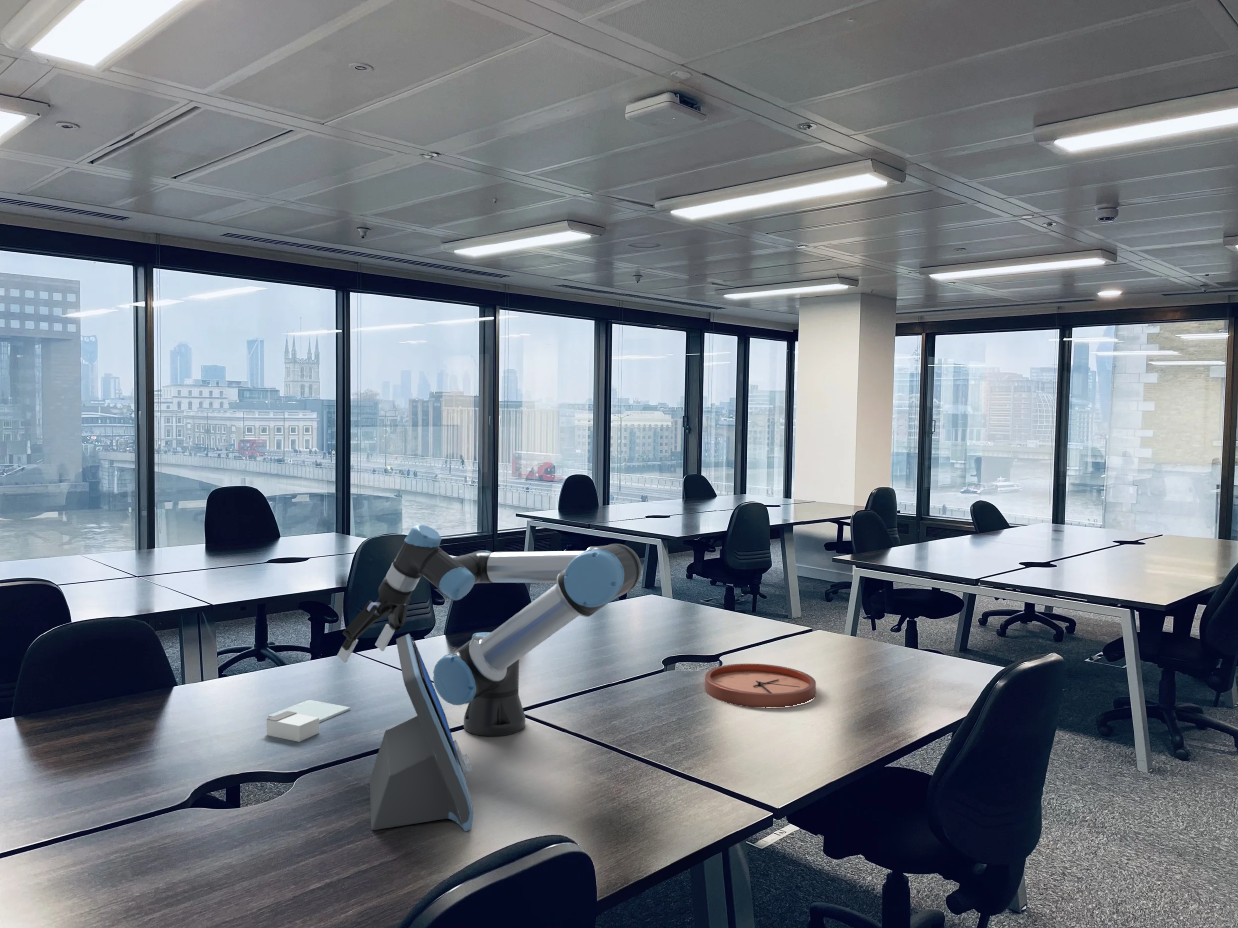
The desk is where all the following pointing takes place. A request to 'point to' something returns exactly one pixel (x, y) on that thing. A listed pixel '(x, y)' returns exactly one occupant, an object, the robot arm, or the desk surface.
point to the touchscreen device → (419, 759)
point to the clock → (759, 685)
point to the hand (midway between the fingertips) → (360, 653)
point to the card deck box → (292, 726)
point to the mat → (315, 709)
